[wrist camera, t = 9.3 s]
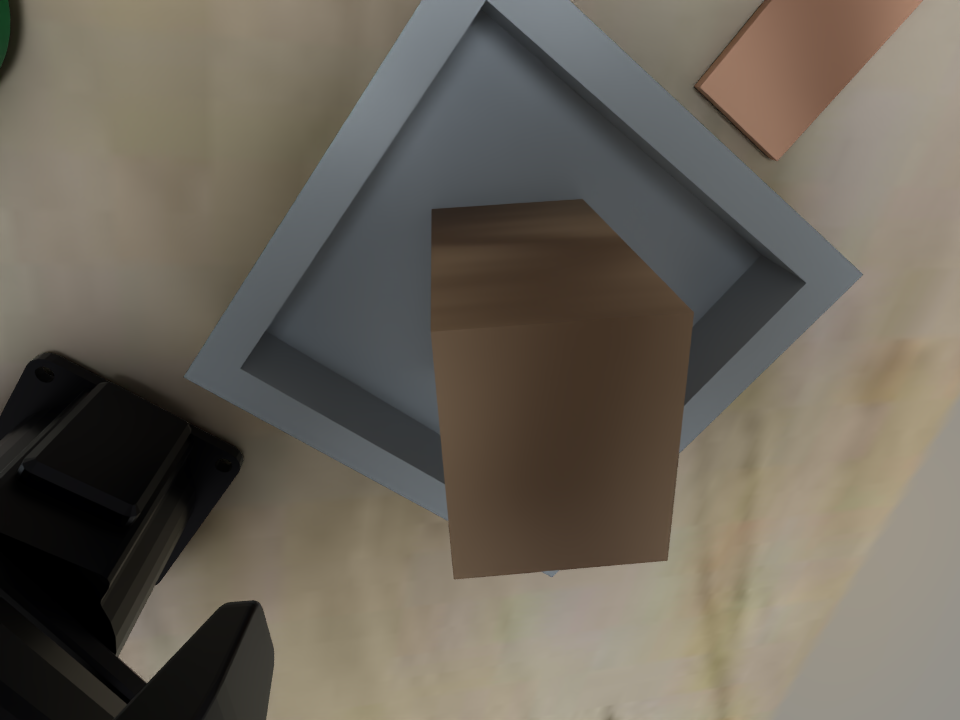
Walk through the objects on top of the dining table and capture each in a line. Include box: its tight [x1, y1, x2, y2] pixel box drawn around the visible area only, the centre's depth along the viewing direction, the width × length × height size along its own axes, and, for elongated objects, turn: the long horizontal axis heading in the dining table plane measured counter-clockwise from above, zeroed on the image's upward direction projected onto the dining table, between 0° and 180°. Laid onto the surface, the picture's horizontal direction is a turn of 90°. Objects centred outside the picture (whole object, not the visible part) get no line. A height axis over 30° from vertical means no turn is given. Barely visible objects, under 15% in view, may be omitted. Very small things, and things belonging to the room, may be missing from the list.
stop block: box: [431, 199, 694, 579], centre depth 14 cm, size 4×5×8 cm
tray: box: [184, 0, 863, 577], centre depth 17 cm, size 12×12×3 cm
